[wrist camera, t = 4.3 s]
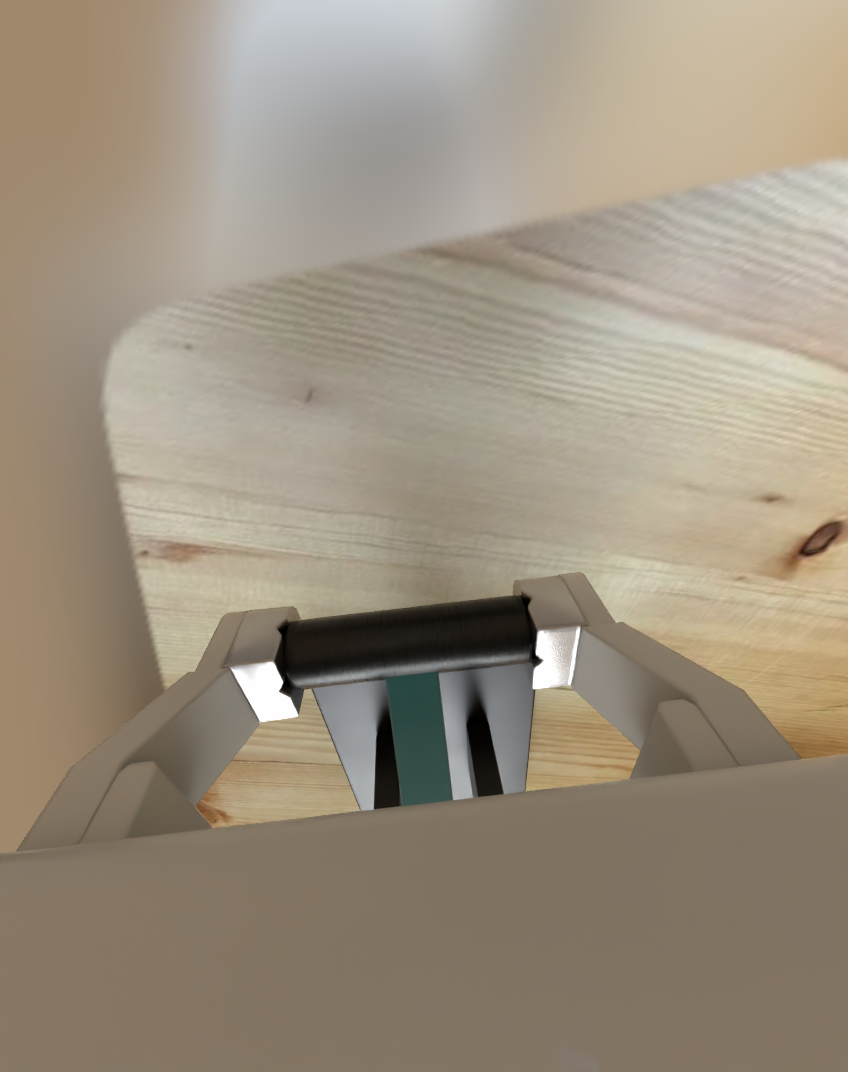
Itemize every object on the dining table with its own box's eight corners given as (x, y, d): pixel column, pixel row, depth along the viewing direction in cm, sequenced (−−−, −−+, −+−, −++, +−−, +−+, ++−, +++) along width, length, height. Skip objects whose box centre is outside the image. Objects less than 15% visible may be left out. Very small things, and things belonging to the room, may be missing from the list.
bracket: (314, 658, 17) (142, 1515, 5) (529, 633, 17) (831, 1429, 5) (364, 794, 23) (338, 1304, 12) (518, 776, 23) (641, 1266, 12)
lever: (305, 607, 10) (268, 642, 7) (508, 583, 10) (537, 611, 7) (386, 1161, 11) (377, 1339, 9) (561, 1140, 11) (600, 1312, 9)
